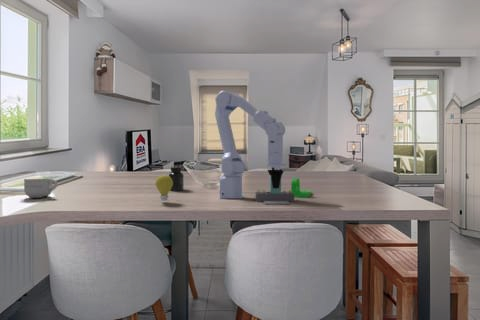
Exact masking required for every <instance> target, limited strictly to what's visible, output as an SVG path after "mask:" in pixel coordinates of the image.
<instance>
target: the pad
mask: <svg viewBox="0 0 480 320" xmlns="http://www.w3.org/2000/svg"><path fill="white" fill-rule="evenodd" d="M263 204H264V205H269V206H270V205H272V206H273V205H274V206H275V205H291V202H288V201H263Z"/></svg>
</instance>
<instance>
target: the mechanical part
mask: <svg viewBox="0 0 480 320" xmlns="http://www.w3.org/2000/svg"><path fill="white" fill-rule="evenodd" d="M300 183H301V182H300V178H299V177H298V178H297V177H296V178H295V177H294V178H292V179H291V184H290V185H291V189H290V190H291V191H292V193H294V198H303V199H305V198H308V197H309V196H311V195H312V190H301V187H300V186H301V184H300Z"/></svg>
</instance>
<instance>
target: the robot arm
mask: <svg viewBox="0 0 480 320" xmlns="http://www.w3.org/2000/svg"><path fill="white" fill-rule="evenodd" d="M214 99H215V112H214V116H215V120H216V125H217V129H218V130H217V131H218V134H219V138H220V143H221V147H222V152H223V156H222V158H221V160H220V161H221V166H220V167H221V172H222V174H223V176H220V177H219V190H218V193H219V199H244V195H243V175H244V172H245V171H246V164H245V163H244V162H243V160H242V156H241V155H240V154H239V153H238V151H237V147H236V142H235V139H234V134H233V130H232V125H231V122H230V115H231V114H232V113H234V111H235V110H236V109H237V108H240V109H241V110H243V111H244V112H246V113H247V114H248V115H249V116H251V117H252V119H253V122H254V123H255V124H256V125H257V126H258V127H260V128H261V129H263V130H264V131H265V134H266V136H267V167H270V169H267V172H268V174H269V175H271V179H272V185H273V188H279V185H280V180H281V181H282V178H281V176H283V174H284V170H283V169H281V167H286V166H287V164H285V163H284V160H283V159H284V158H283V157H284V155H283V154H284V153H283V152H284V151H283V150H284V149H283V148H284V143H283V141H284V138H283V137H284V135H285V132H286V127H285V125H284V124H283V123H282V122H280V121H277V118H275V117H272V116H271V115H270V114H269V112H268V111H267V110H264V109H260V110H258V109H257V108H256V107H255V106H253V105H252V104H251V102H249V101H248V100H246V99H245V97H243V96H242V95H240V94H239V93H236V92H231V91H228V90H221V91H219V92H218V94H217V95H216V97H215V98H214ZM269 175H268V176H269Z"/></svg>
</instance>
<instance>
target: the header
mask: <svg viewBox="0 0 480 320" xmlns="http://www.w3.org/2000/svg"><path fill="white" fill-rule="evenodd" d="M254 192H255V194H254V196H255V197H254V198H255V202H256V203H257V202H259V203H260V202H261V203H262V202H263V201H288V202H289V203H291V202H295V197H294V193H292V191H291V189H288V191H287V190H285V189H282V191H281V193H270V191H266V190H264V189H263V190H262V191H260V190H259V189H256V191H254ZM263 203H264V202H263Z"/></svg>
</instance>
